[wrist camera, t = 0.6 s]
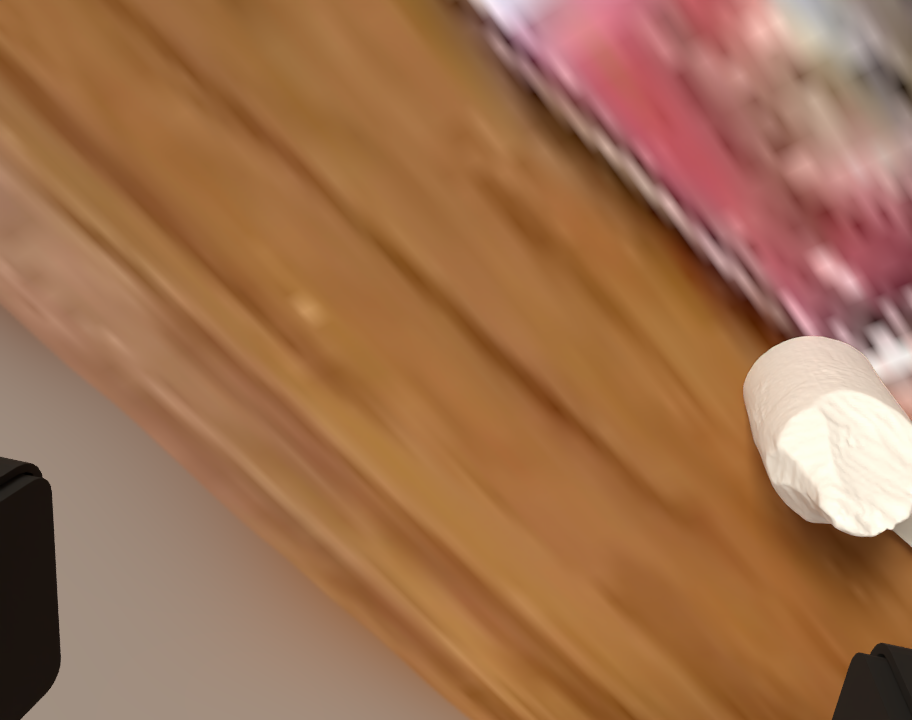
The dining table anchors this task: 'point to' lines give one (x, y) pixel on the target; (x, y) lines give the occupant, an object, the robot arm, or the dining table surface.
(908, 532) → the tower base
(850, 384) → the roll
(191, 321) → the dining table surface
